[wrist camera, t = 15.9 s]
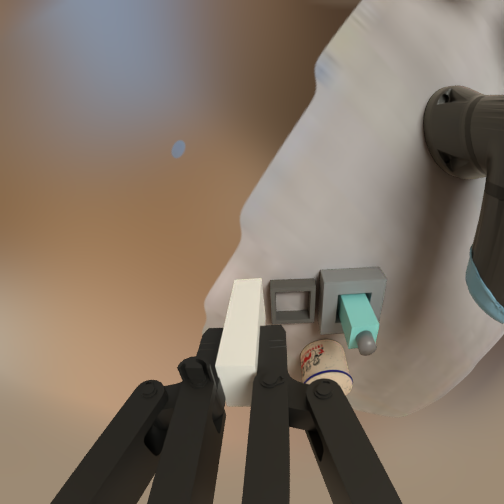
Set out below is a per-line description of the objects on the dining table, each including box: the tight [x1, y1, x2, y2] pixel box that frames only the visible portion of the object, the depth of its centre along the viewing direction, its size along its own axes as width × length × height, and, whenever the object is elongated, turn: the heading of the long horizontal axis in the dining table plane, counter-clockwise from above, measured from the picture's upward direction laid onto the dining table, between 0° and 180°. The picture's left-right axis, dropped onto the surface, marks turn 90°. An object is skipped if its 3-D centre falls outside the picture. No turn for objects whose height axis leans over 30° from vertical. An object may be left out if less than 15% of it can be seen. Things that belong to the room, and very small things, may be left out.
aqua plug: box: [337, 293, 379, 356], centre depth 40 cm, size 4×4×14 cm
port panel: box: [318, 267, 387, 335], centre depth 44 cm, size 10×10×4 cm
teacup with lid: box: [300, 339, 353, 396], centre depth 47 cm, size 12×9×12 cm
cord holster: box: [270, 278, 316, 324], centre depth 46 cm, size 7×7×2 cm
